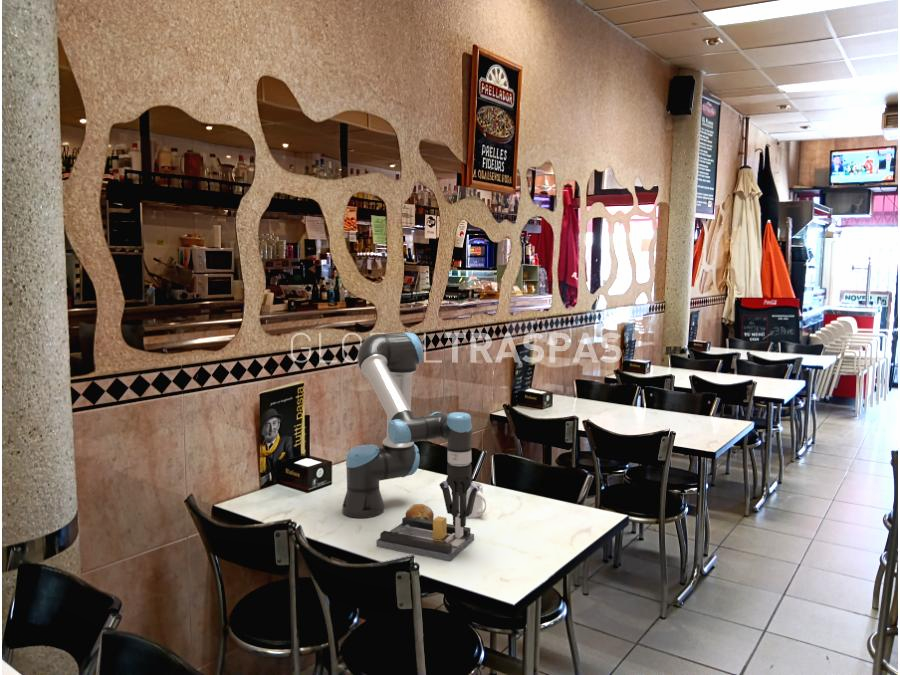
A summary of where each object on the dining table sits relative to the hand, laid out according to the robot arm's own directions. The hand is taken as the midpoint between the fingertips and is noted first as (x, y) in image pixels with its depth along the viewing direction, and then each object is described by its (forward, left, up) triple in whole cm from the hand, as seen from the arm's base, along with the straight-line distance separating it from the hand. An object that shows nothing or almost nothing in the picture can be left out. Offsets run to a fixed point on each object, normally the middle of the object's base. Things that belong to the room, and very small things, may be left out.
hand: (459, 536), depth 219 cm
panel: (-12, 0, -4) cm, 13 cm away
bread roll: (-23, +15, -5) cm, 28 cm away
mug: (-8, +29, -5) cm, 30 cm away
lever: (-7, 0, -2) cm, 7 cm away
